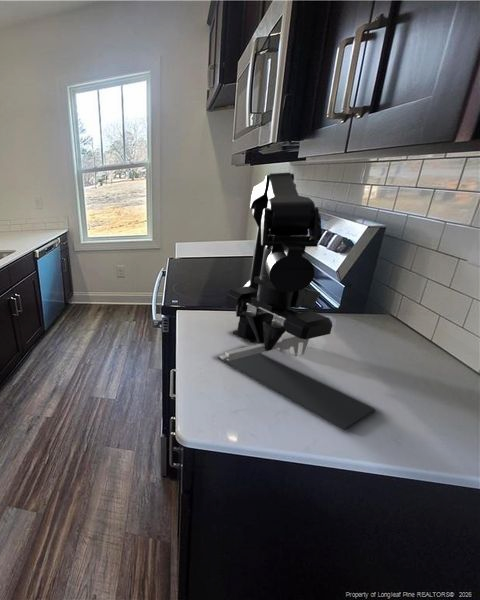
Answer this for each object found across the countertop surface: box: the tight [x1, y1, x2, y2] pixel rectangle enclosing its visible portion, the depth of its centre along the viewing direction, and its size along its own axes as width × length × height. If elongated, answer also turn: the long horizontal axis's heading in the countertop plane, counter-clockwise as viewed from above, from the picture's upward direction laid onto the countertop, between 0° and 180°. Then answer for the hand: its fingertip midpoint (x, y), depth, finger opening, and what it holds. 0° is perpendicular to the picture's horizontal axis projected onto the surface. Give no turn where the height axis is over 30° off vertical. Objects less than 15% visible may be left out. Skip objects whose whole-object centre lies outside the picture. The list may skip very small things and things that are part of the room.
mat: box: [217, 346, 376, 431], centre depth 70 cm, size 10×28×1 cm, turn 26°
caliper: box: [218, 333, 310, 361], centre depth 62 cm, size 20×1×6 cm, turn 106°
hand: (265, 348), depth 63 cm, fingers closed on caliper
